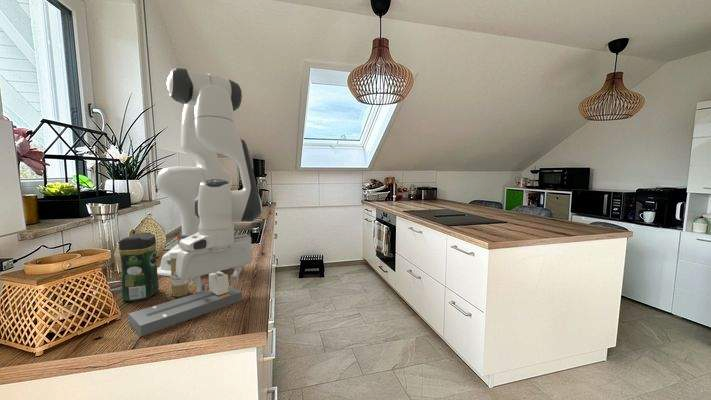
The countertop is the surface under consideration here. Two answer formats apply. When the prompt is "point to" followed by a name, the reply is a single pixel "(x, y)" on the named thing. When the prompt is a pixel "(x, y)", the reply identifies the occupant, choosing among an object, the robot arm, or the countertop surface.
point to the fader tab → (218, 283)
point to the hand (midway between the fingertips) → (218, 285)
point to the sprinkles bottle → (178, 284)
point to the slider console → (180, 310)
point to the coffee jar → (138, 266)
